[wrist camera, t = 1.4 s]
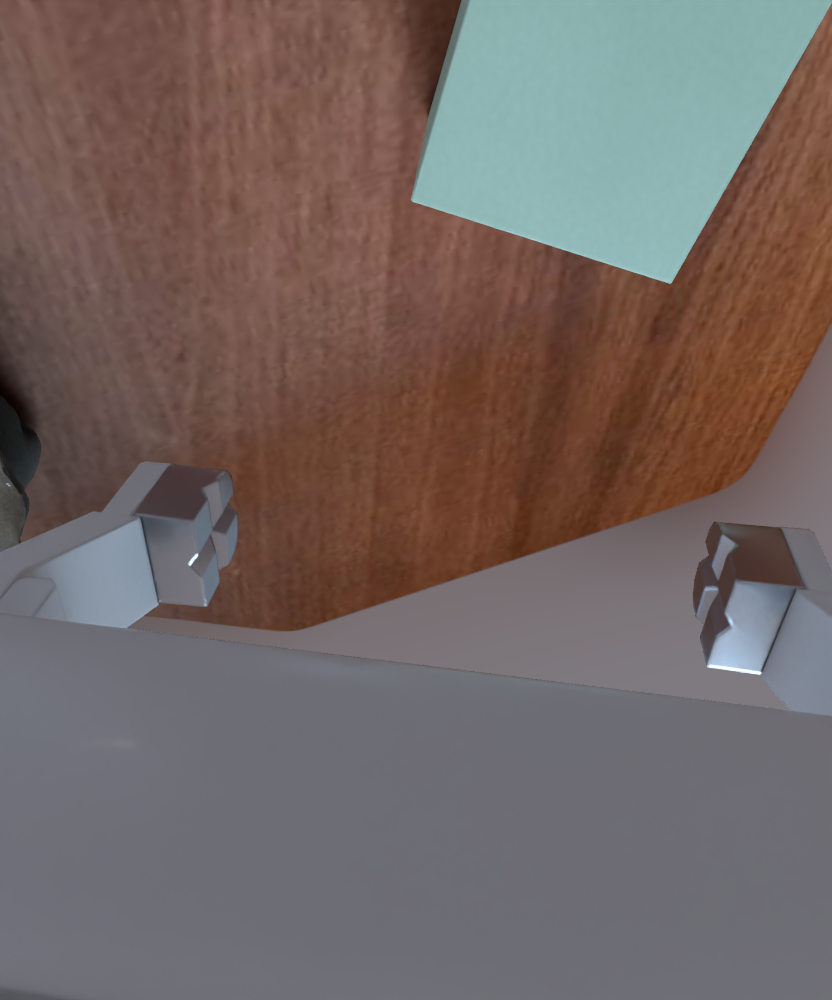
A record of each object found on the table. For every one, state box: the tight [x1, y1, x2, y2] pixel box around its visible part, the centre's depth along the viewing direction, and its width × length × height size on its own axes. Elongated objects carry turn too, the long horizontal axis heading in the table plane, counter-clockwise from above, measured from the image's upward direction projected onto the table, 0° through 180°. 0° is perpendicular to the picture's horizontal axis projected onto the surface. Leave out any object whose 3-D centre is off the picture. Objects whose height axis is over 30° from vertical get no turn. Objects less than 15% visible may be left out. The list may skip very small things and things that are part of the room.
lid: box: [411, 0, 832, 284], centre depth 30 cm, size 16×13×5 cm
